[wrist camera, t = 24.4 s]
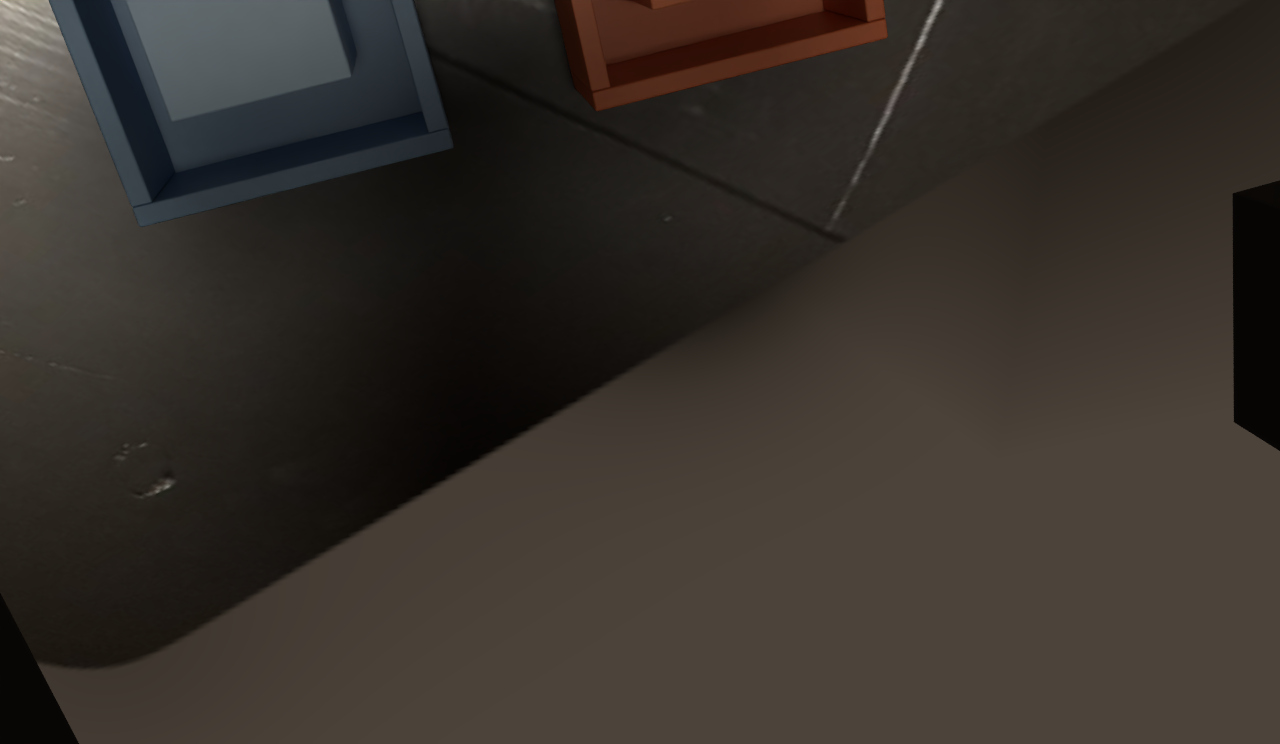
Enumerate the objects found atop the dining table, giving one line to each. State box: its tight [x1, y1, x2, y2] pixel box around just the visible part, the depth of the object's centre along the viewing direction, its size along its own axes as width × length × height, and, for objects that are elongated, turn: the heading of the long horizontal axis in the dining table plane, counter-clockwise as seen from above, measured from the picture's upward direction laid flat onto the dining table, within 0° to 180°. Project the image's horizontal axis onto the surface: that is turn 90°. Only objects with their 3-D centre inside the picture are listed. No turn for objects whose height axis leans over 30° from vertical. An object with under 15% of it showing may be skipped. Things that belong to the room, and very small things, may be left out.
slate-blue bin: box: [49, 0, 453, 227], centre depth 34 cm, size 10×9×4 cm
